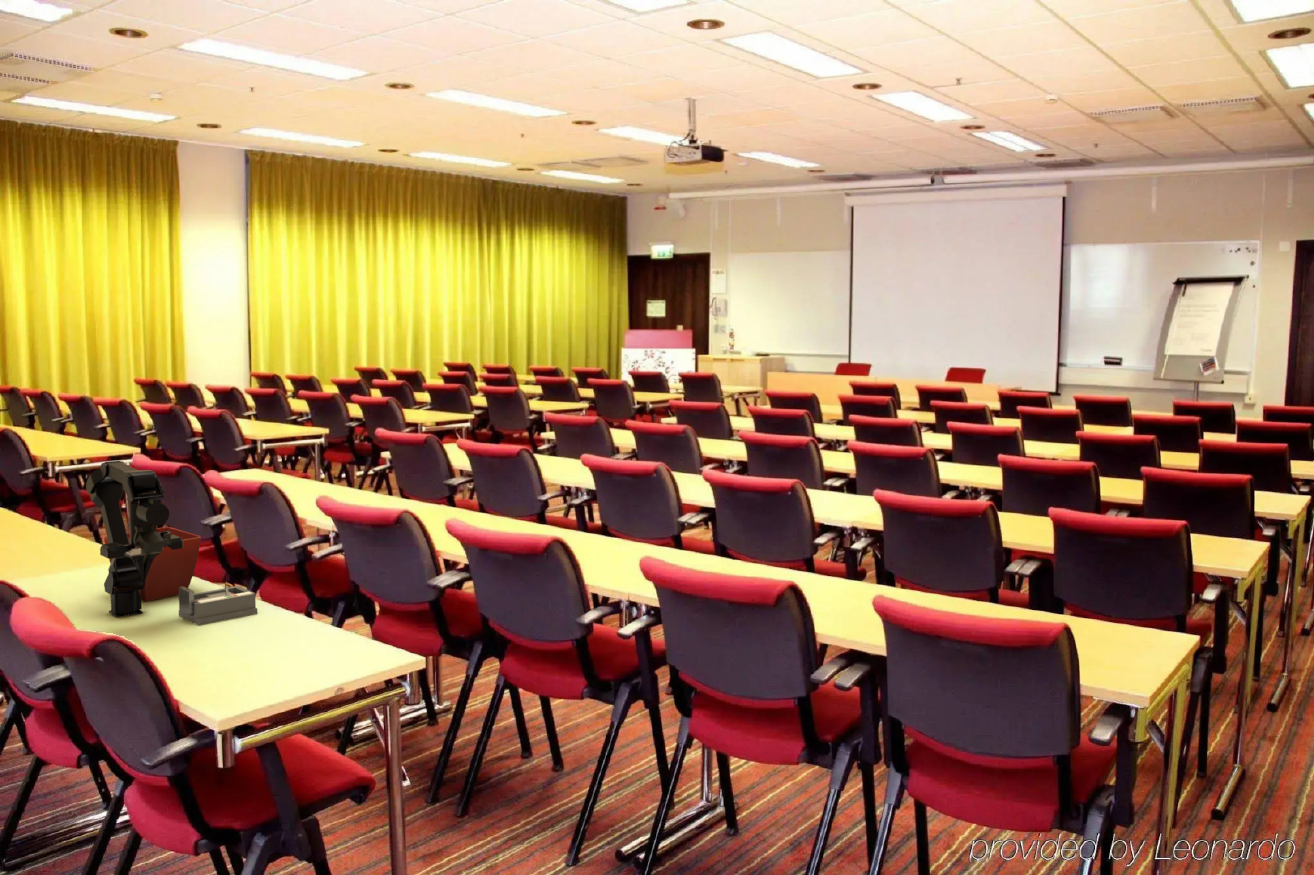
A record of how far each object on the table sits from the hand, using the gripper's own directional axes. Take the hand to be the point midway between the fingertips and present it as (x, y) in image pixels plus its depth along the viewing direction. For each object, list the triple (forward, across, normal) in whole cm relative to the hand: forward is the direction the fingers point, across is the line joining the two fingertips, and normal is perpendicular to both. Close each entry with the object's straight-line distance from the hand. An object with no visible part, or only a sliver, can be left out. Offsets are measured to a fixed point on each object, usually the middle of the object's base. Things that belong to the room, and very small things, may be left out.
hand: (143, 579), depth 268 cm
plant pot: (+12, +13, +27) cm, 32 cm away
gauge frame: (+12, +18, -4) cm, 22 cm away
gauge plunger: (+10, +15, -5) cm, 19 cm away
